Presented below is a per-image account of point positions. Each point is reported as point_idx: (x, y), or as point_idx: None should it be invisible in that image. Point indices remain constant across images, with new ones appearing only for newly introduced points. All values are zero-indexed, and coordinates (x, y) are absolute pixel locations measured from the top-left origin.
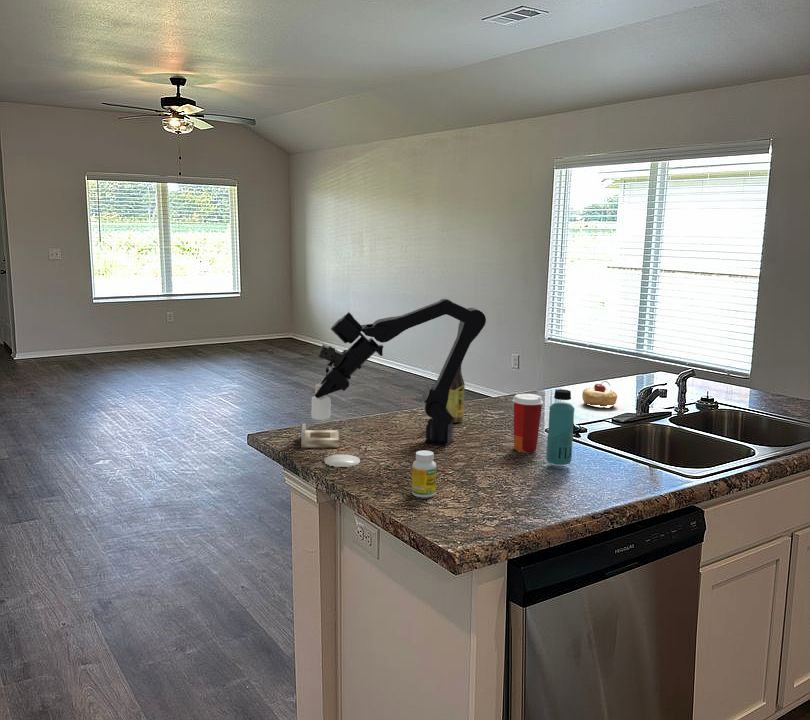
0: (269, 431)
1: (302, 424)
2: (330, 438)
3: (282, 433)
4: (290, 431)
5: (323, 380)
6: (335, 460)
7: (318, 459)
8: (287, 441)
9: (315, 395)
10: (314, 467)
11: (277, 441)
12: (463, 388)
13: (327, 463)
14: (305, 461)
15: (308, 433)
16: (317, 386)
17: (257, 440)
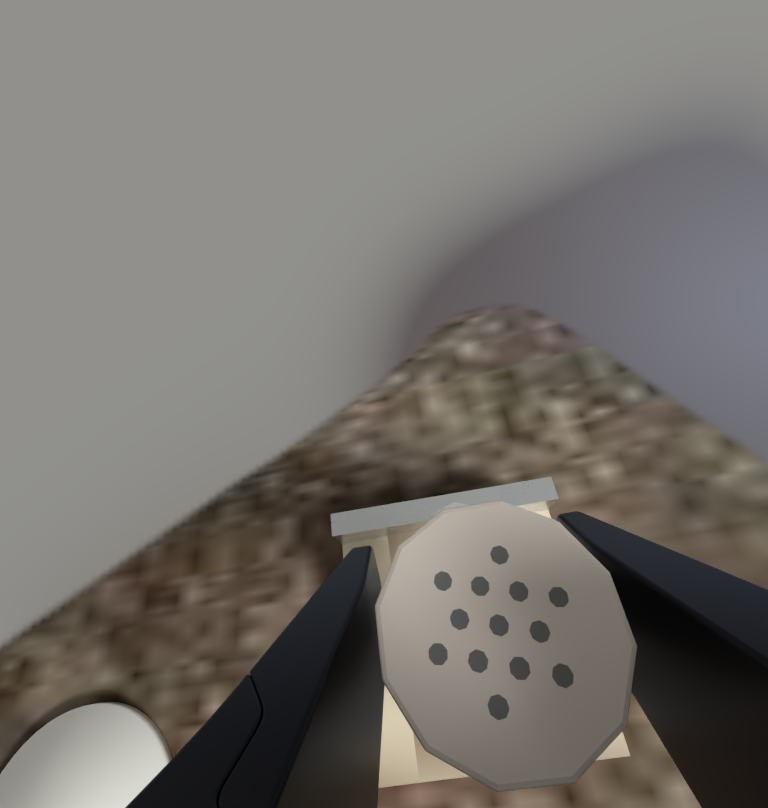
0: (583, 337)
1: (522, 482)
2: (393, 712)
3: (570, 394)
4: (622, 420)
5: (746, 663)
6: (64, 784)
7: (151, 659)
8: (440, 446)
9: (352, 556)
10: (37, 656)
11: (432, 406)
12: None
13: (39, 731)
14: (132, 594)
15: None
16: (395, 559)
17: (431, 333)
